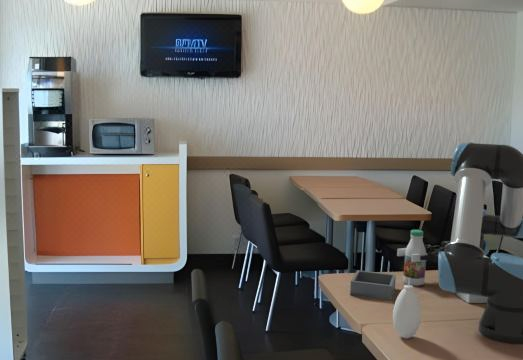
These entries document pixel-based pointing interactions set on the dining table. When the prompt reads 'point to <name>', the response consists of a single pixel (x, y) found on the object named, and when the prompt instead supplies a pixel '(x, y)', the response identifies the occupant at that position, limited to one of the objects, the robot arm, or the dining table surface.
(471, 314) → the dining table surface
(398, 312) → the white squeeze bottle
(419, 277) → the milk bottle
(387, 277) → the box
